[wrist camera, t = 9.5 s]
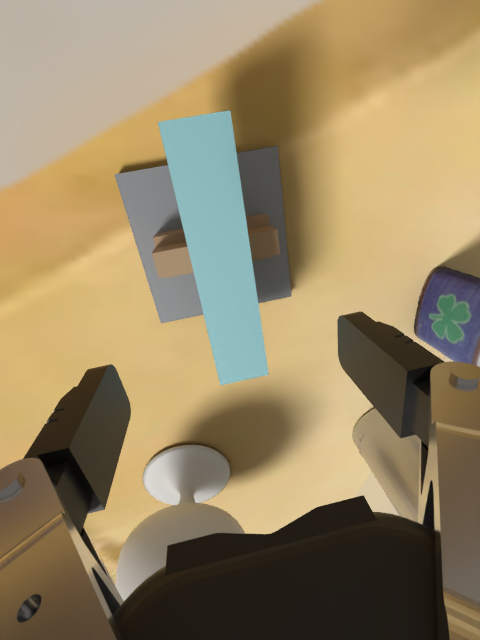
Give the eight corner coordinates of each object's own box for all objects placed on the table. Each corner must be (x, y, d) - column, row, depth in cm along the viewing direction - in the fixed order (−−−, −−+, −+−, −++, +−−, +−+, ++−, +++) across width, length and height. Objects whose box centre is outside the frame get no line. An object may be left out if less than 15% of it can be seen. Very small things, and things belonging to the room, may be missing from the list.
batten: (223, 124, 20) (230, 110, 16) (258, 349, 27) (268, 374, 24) (164, 134, 19) (157, 122, 16) (216, 358, 27) (220, 385, 24)
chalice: (154, 427, 37) (131, 565, 24) (252, 448, 41) (280, 577, 28) (123, 498, 42) (89, 649, 28) (214, 512, 46) (222, 648, 32)
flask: (428, 336, 37) (510, 388, 28) (407, 338, 37) (483, 391, 27) (450, 265, 33) (554, 296, 24) (427, 265, 33) (523, 298, 23)
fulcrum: (274, 147, 26) (296, 136, 21) (288, 293, 32) (308, 314, 27) (117, 174, 25) (96, 171, 20) (161, 319, 31) (155, 347, 26)
